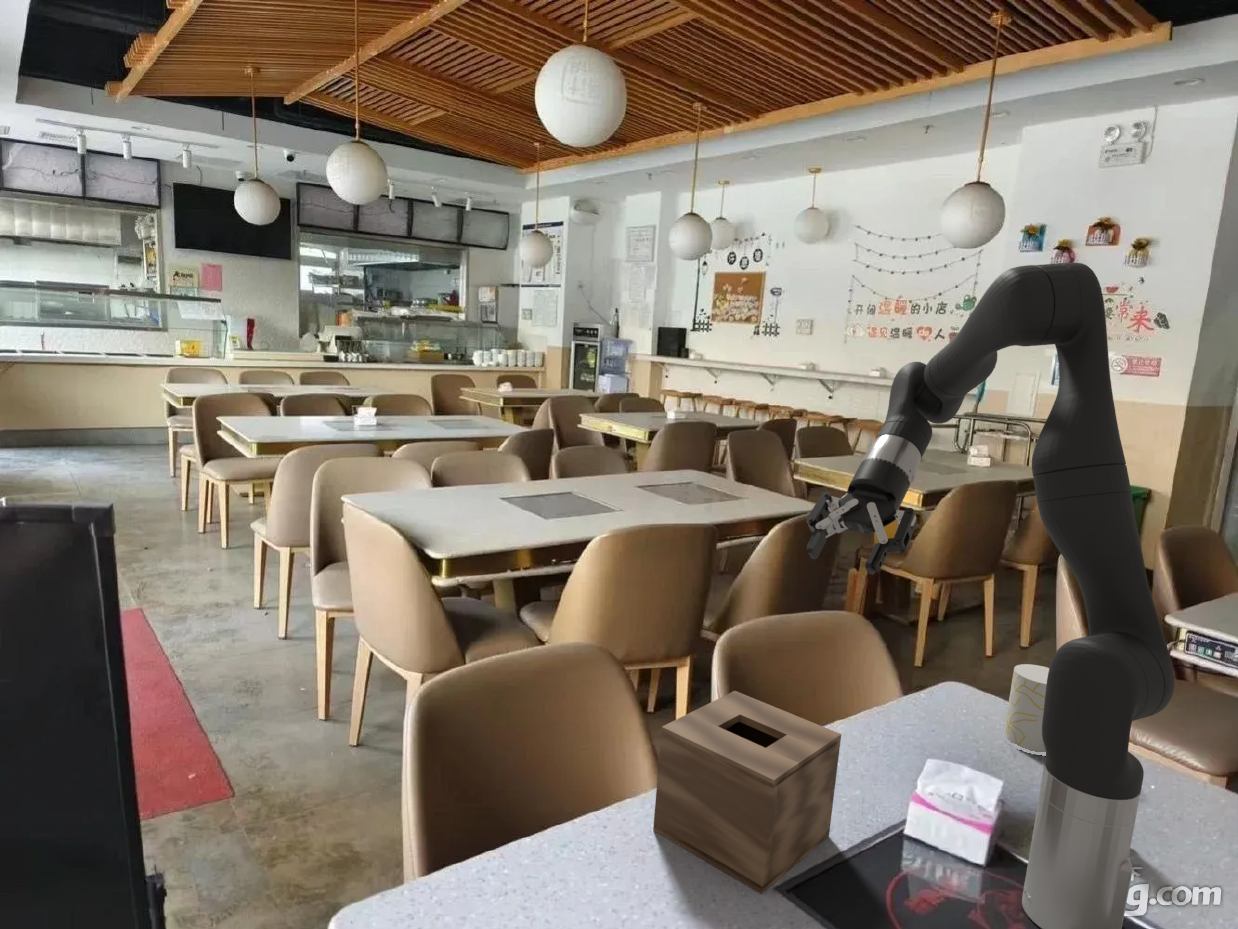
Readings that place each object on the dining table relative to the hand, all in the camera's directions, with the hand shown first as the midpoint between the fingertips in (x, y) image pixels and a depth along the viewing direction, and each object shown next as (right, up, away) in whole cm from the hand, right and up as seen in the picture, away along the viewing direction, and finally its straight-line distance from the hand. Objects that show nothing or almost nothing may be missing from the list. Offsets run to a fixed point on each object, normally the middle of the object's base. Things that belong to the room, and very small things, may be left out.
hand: (839, 563), depth 111 cm
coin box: (-15, -33, -8) cm, 37 cm away
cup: (+37, -32, +22) cm, 54 cm away
